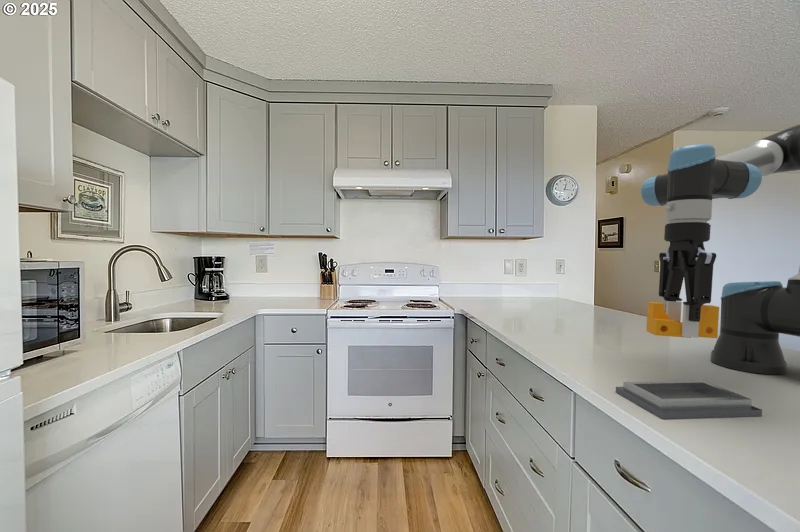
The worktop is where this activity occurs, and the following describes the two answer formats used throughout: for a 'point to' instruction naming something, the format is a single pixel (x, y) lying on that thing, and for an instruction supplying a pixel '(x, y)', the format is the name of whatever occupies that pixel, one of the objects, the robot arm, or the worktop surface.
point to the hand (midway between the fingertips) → (680, 333)
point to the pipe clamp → (666, 327)
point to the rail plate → (687, 399)
